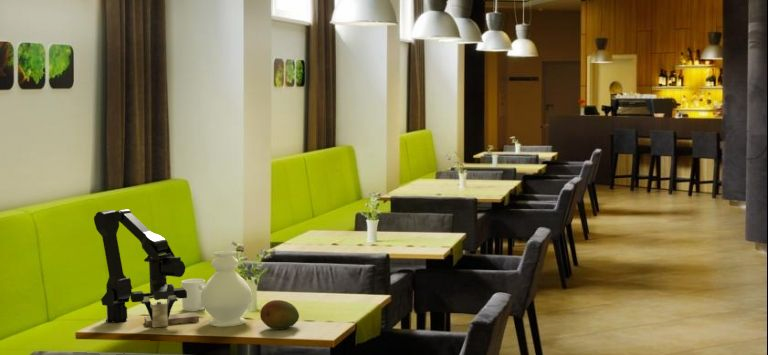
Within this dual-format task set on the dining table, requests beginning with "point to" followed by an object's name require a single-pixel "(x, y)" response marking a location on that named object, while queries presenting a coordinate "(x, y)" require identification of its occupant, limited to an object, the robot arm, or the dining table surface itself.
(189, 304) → the mug
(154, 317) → the beige box with knob
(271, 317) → the fruit
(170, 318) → the board
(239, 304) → the decorative vase
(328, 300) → the dining table surface
